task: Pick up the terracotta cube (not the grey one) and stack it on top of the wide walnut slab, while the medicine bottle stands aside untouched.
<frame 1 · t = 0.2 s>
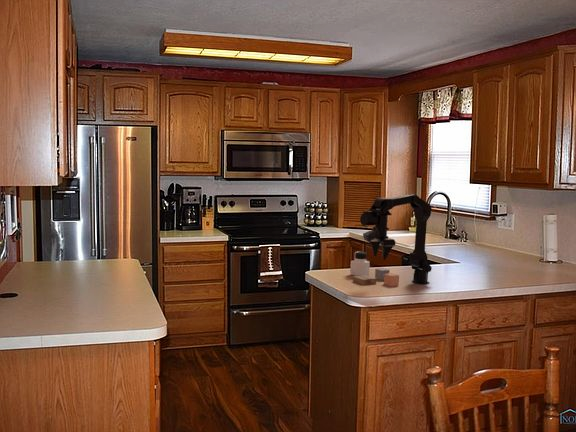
hand: (379, 257, 286), 14 cm above the counter, tool pointing down, fingers open, 9 cm apart
walnut slab: (364, 283, 296), on the counter
terracotta cube: (391, 284, 294), on the counter
medicine bottle: (359, 275, 314), on the counter
grey cube: (381, 279, 306), on the counter
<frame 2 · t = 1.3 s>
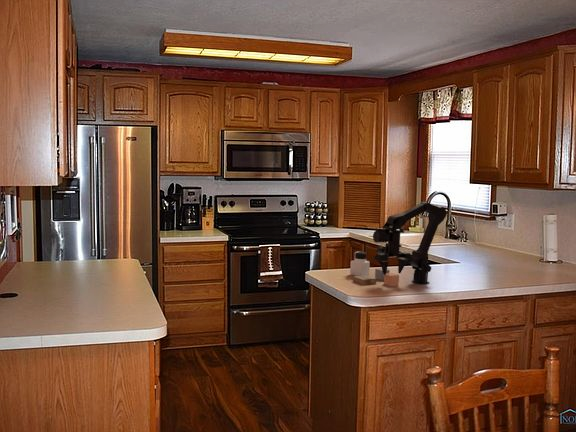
hand: (392, 273, 294), 5 cm above the counter, tool pointing down, fingers open, 9 cm apart
nothing on the counter moved.
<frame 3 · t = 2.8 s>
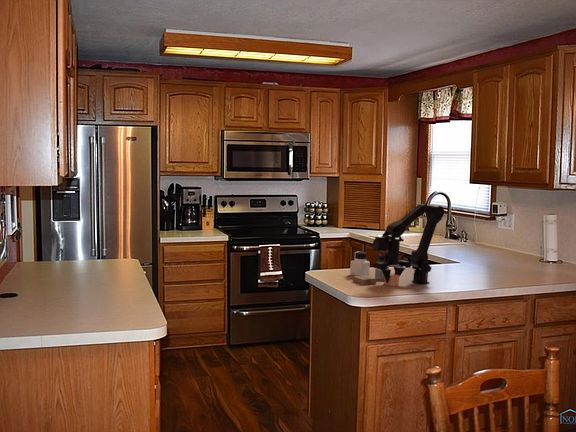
hand: (391, 282, 294), 1 cm above the counter, tool pointing down, fingers closed on terracotta cube, 5 cm apart
terracotta cube: (391, 284, 294), on the counter, touching gripper
everything else where it was.
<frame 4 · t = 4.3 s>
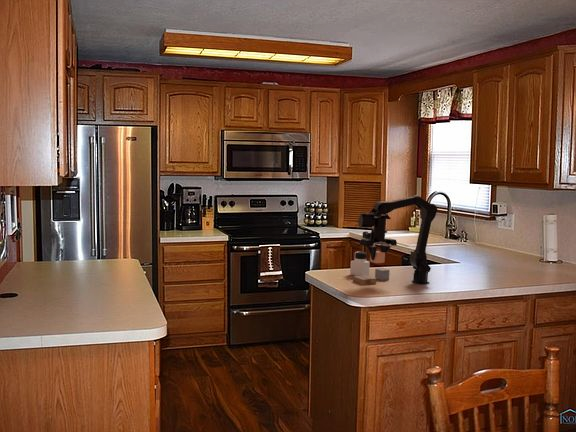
hand: (377, 260, 294), 12 cm above the counter, tool pointing down, fingers closed on terracotta cube, 5 cm apart
terracotta cube: (377, 262, 294), point 11 cm above the counter, touching gripper
everything else where it was.
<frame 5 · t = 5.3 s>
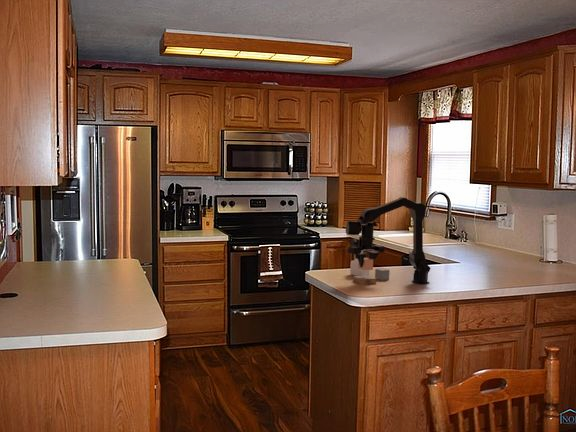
hand: (365, 267, 295), 8 cm above the counter, tool pointing down, fingers closed on terracotta cube, 5 cm apart
terracotta cube: (365, 269, 295), point 7 cm above the counter, touching gripper
everything else where it was.
when the fingers open (5 cm above the counter, at t = 6.1 s): terracotta cube drops 2 cm, resting on walnut slab.
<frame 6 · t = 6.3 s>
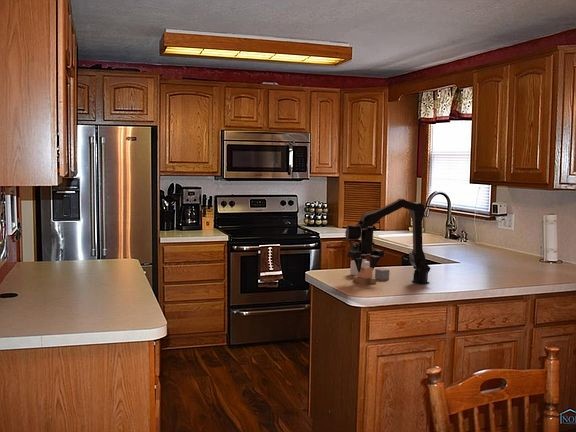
hand: (365, 271, 295), 5 cm above the counter, tool pointing down, fingers open, 7 cm apart
walnut slab: (364, 283, 296), on the counter, touching terracotta cube
terracotta cube: (364, 277, 296), point 3 cm above the counter, touching walnut slab
everything else where it was.
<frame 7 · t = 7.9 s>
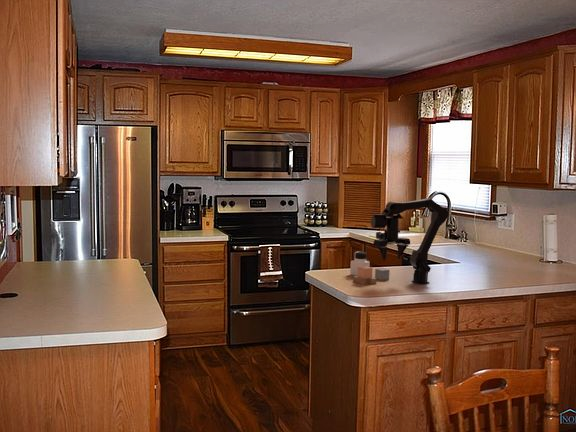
hand: (391, 259, 296), 12 cm above the counter, tool pointing down, fingers open, 9 cm apart
nothing on the counter moved.
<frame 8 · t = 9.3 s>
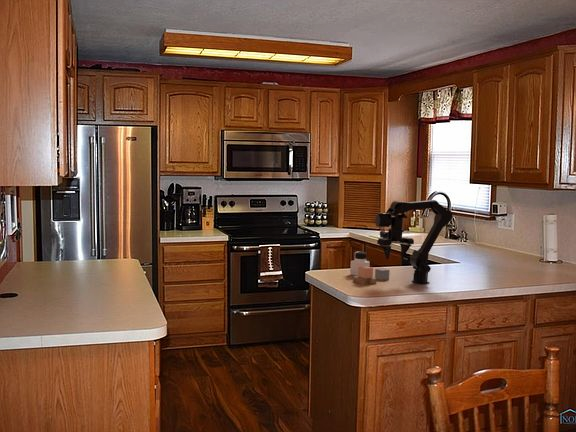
hand: (394, 258, 296), 12 cm above the counter, tool pointing down, fingers open, 9 cm apart
nothing on the counter moved.
at the end: terracotta cube 0.2 cm off-centre on the walnut slab, point 3.0 cm above the walnut slab's base; terracotta cube tilted 0°; the gripper is holding nothing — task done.
